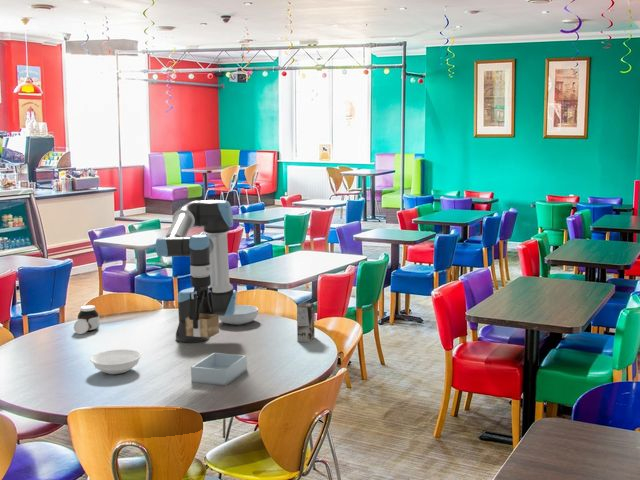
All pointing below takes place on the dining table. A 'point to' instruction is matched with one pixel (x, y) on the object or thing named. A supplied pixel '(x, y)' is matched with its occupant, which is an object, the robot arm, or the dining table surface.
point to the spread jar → (87, 320)
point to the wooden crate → (204, 325)
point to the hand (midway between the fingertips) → (202, 333)
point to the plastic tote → (219, 369)
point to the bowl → (116, 361)
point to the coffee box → (305, 322)
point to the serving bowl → (241, 315)
